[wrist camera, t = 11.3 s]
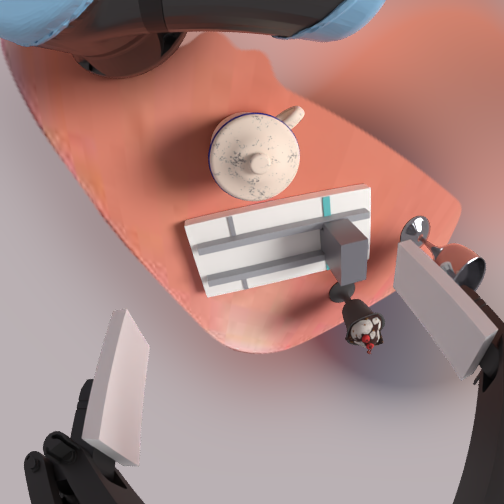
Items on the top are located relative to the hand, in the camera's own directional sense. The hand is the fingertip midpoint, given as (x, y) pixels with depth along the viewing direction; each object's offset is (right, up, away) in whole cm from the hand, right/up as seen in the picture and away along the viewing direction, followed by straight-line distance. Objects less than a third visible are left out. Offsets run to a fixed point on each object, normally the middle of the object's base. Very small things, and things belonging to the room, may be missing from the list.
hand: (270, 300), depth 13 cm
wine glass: (+28, +5, +33) cm, 43 cm away
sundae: (+15, -5, +36) cm, 39 cm away
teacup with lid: (-1, +17, +22) cm, 27 cm away
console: (+4, +4, +29) cm, 30 cm away
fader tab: (+10, +5, +27) cm, 30 cm away
